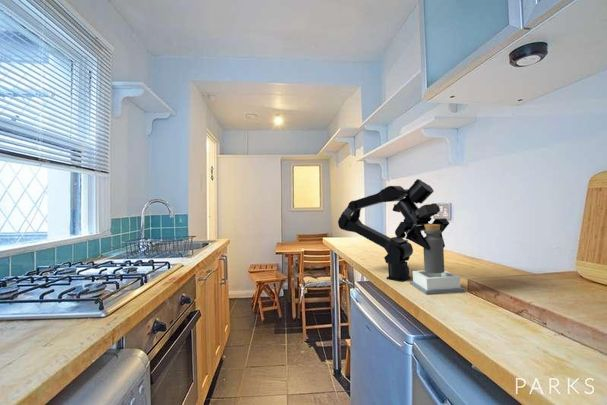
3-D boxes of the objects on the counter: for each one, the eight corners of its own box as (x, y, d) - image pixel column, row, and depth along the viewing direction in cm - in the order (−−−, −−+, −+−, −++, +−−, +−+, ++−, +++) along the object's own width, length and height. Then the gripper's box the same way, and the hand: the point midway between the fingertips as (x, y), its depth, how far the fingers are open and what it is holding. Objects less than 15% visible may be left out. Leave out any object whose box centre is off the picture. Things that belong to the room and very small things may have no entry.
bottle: (425, 273, 90) (423, 225, 90) (423, 268, 96) (421, 223, 96) (446, 273, 88) (444, 225, 88) (442, 269, 94) (440, 223, 94)
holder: (410, 283, 99) (409, 270, 99) (444, 281, 99) (443, 268, 99) (426, 294, 87) (425, 279, 87) (464, 291, 87) (463, 277, 87)
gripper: (398, 197, 92) (425, 234, 82) (443, 194, 99) (473, 229, 88) (385, 220, 100) (408, 257, 90) (427, 216, 106) (453, 250, 96)
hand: (436, 248), depth 91 cm, fingers closed on bottle, 6 cm apart
